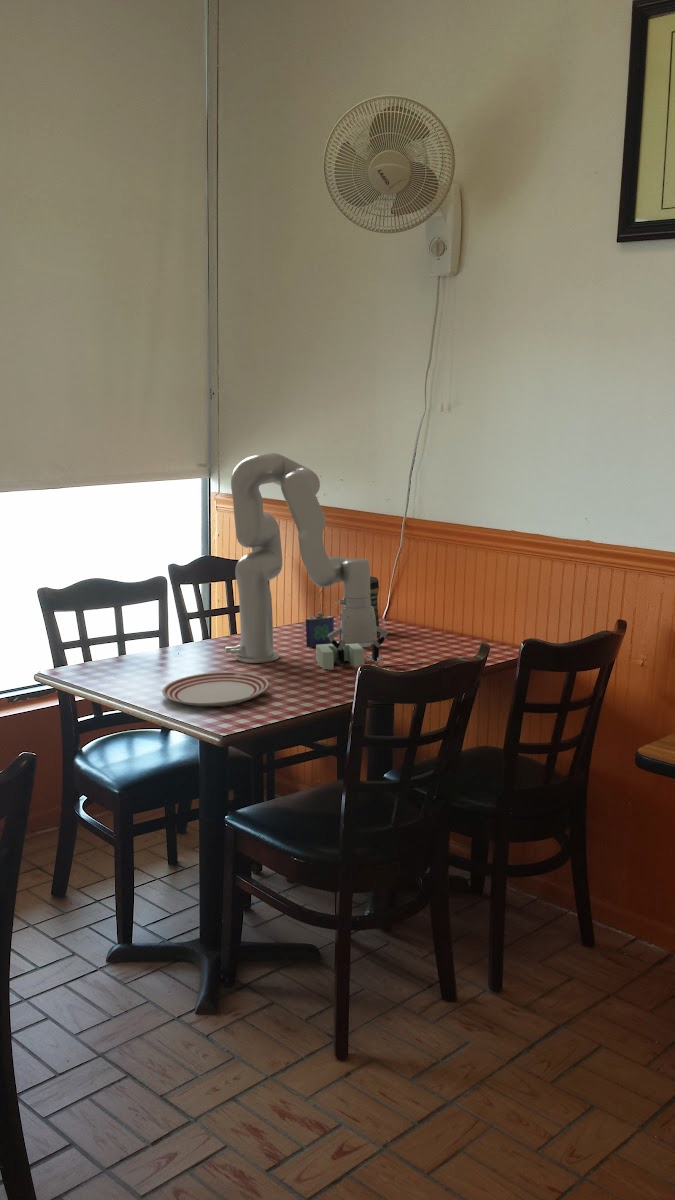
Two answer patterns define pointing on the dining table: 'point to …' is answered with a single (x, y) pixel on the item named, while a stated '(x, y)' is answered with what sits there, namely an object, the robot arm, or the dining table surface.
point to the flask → (319, 630)
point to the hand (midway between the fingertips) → (358, 661)
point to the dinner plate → (215, 688)
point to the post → (337, 655)
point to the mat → (380, 658)
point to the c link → (328, 655)
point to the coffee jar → (374, 596)
